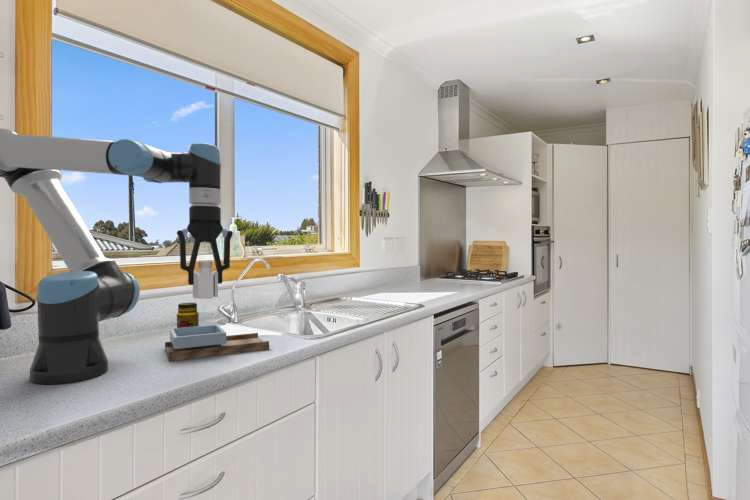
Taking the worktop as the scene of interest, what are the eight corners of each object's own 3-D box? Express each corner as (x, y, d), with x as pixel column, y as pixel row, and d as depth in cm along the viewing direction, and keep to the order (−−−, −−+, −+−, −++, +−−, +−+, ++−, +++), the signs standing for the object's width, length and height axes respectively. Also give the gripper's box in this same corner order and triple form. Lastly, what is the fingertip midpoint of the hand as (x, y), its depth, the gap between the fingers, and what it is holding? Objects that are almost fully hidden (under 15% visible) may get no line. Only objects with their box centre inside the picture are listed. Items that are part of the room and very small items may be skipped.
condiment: (174, 346, 133) (173, 305, 132) (177, 340, 141) (177, 301, 140) (200, 345, 135) (200, 304, 135) (202, 338, 143) (202, 300, 143)
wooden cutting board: (169, 361, 117) (168, 352, 117) (165, 349, 129) (164, 341, 129) (269, 349, 130) (269, 341, 130) (257, 339, 142) (257, 332, 141)
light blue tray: (174, 356, 118) (174, 337, 118) (170, 345, 129) (169, 328, 129) (226, 350, 124) (226, 332, 124) (217, 340, 136) (217, 324, 135)
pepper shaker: (197, 297, 119) (197, 260, 119) (213, 296, 120) (213, 260, 120) (196, 299, 115) (196, 261, 115) (213, 298, 116) (213, 261, 116)
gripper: (168, 203, 109) (169, 300, 110) (242, 206, 117) (242, 297, 118) (167, 205, 116) (167, 297, 117) (237, 207, 124) (237, 293, 125)
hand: (205, 296), depth 117 cm, fingers closed on pepper shaker, 4 cm apart
